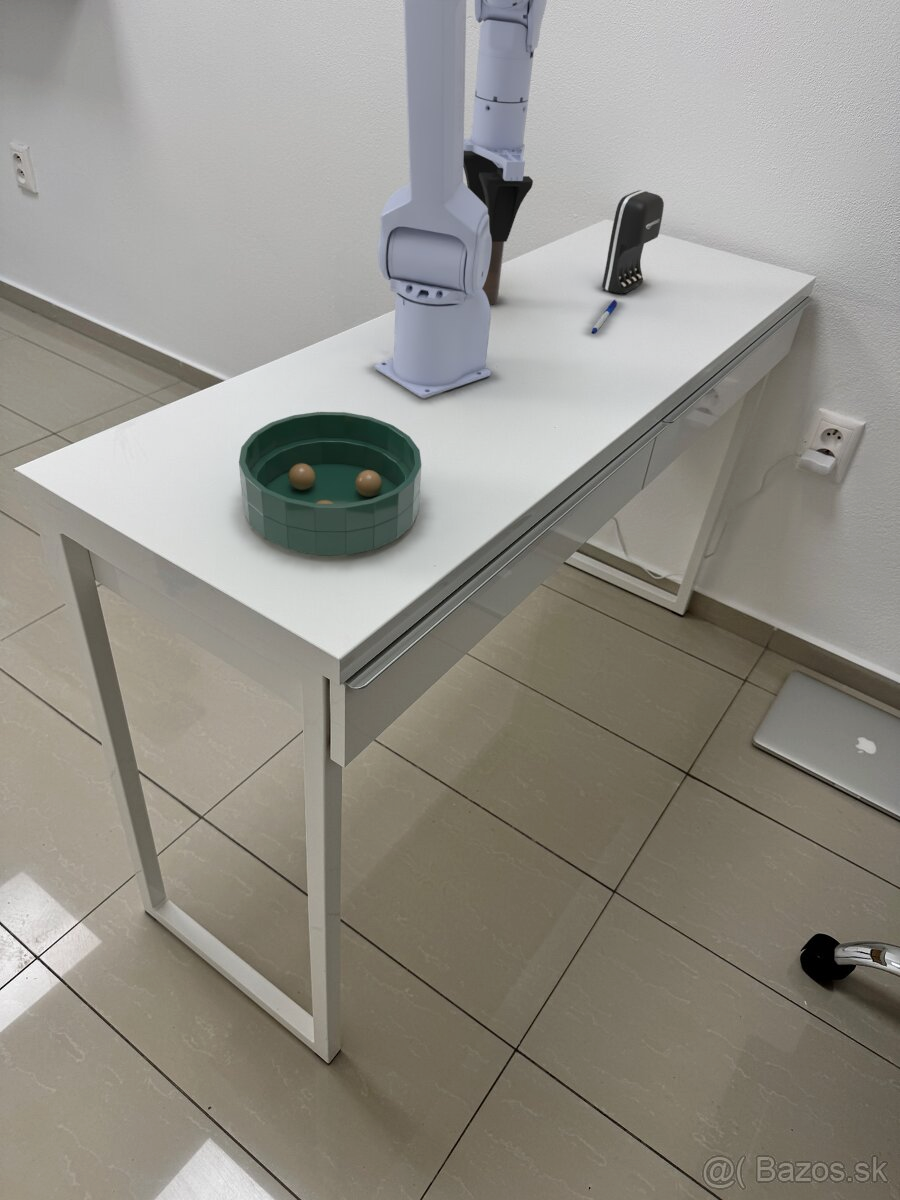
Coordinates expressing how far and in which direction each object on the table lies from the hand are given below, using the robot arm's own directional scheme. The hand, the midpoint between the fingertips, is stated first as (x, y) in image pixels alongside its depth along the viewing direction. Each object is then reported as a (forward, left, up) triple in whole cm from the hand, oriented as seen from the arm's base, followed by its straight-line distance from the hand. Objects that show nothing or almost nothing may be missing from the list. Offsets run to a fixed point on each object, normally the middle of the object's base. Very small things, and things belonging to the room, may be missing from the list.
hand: (488, 229), depth 101 cm
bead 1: (+41, +23, -7) cm, 47 cm away
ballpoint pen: (-10, +12, -9) cm, 18 cm away
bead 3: (+37, +26, -7) cm, 46 cm away
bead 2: (+43, +28, -7) cm, 52 cm away
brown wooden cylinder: (-1, 0, -9) cm, 9 cm away
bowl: (+40, +26, -9) cm, 49 cm away
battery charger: (-20, +7, -9) cm, 22 cm away
